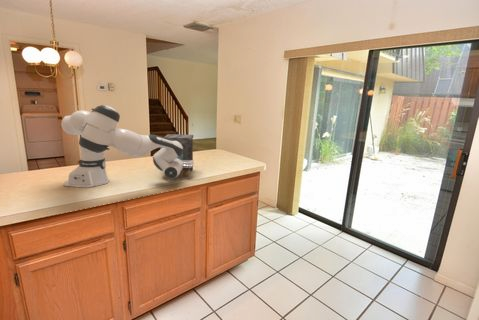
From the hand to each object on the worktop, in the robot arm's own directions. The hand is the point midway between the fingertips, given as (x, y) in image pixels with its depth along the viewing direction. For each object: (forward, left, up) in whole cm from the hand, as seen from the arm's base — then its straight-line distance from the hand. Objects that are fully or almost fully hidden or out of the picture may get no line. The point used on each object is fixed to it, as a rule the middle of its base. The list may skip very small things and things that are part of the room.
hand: (179, 160), depth 168 cm
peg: (0, 0, -9) cm, 9 cm away
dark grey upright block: (0, 0, -9) cm, 9 cm away
